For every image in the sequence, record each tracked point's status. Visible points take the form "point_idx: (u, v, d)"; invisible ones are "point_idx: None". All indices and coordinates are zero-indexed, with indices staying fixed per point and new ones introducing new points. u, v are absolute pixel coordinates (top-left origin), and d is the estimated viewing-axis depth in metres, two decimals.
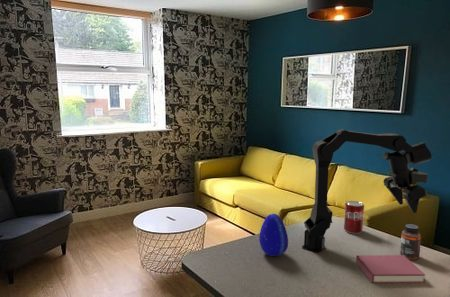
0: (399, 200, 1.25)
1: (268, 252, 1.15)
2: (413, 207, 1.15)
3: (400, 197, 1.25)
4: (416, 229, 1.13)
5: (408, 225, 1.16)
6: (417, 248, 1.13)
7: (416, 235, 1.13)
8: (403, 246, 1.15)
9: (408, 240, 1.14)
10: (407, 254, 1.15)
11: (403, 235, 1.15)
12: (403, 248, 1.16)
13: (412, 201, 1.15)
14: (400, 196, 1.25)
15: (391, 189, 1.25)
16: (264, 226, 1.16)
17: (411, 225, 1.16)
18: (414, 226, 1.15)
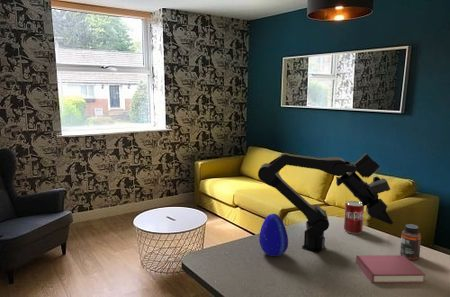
0: None
1: (268, 252, 1.15)
2: (386, 220, 1.11)
3: None
4: (416, 229, 1.13)
5: (408, 225, 1.16)
6: (417, 248, 1.13)
7: (416, 235, 1.13)
8: (403, 246, 1.15)
9: (408, 240, 1.14)
10: (407, 254, 1.15)
11: (403, 235, 1.15)
12: (403, 248, 1.16)
13: (381, 215, 1.11)
14: None
15: (367, 204, 1.22)
16: (264, 226, 1.16)
17: (411, 225, 1.16)
18: (414, 226, 1.15)
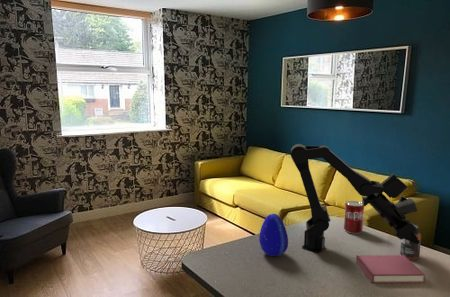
0: None
1: (268, 252, 1.15)
2: (412, 239, 1.12)
3: None
4: (416, 229, 1.13)
5: None
6: (417, 248, 1.13)
7: (416, 235, 1.13)
8: (403, 246, 1.15)
9: (408, 240, 1.14)
10: (407, 254, 1.15)
11: None
12: (403, 248, 1.16)
13: (407, 235, 1.12)
14: None
15: (394, 225, 1.20)
16: (264, 226, 1.16)
17: None
18: None
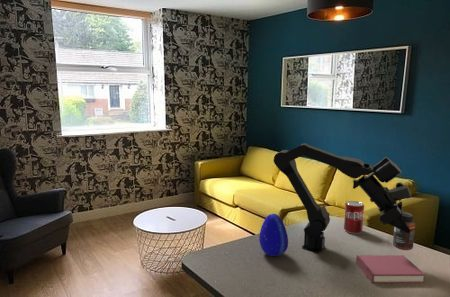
0: None
1: (268, 252, 1.15)
2: (402, 227, 1.05)
3: None
4: (409, 217, 1.06)
5: (402, 213, 1.09)
6: (408, 238, 1.06)
7: (407, 223, 1.06)
8: (394, 235, 1.09)
9: None
10: (397, 243, 1.08)
11: None
12: (394, 237, 1.09)
13: (396, 222, 1.05)
14: None
15: None
16: (264, 226, 1.16)
17: (405, 213, 1.08)
18: (408, 214, 1.07)
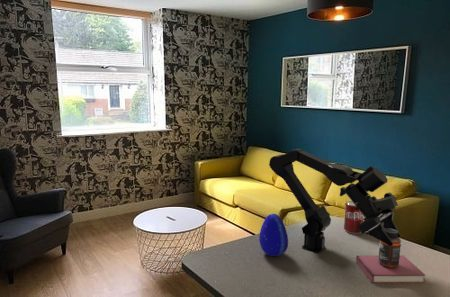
0: None
1: (268, 252, 1.15)
2: (383, 239, 1.02)
3: None
4: (392, 234, 1.03)
5: (388, 229, 1.06)
6: (391, 255, 1.03)
7: None
8: (379, 250, 1.06)
9: (382, 244, 1.04)
10: (381, 260, 1.05)
11: None
12: (379, 253, 1.07)
13: (377, 233, 1.02)
14: (393, 228, 1.08)
15: (380, 222, 1.11)
16: (264, 226, 1.16)
17: (391, 229, 1.05)
18: (393, 231, 1.04)
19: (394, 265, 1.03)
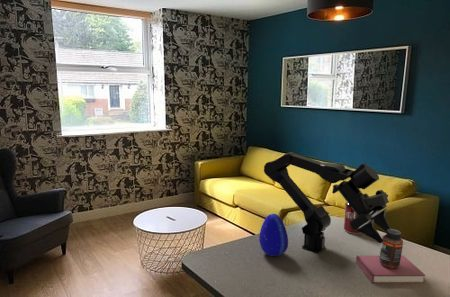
0: (385, 229, 1.10)
1: (268, 252, 1.15)
2: (374, 236, 1.03)
3: (385, 225, 1.10)
4: (396, 235, 1.02)
5: (391, 230, 1.05)
6: (393, 256, 1.02)
7: (393, 241, 1.02)
8: (380, 251, 1.06)
9: (385, 244, 1.04)
10: (382, 260, 1.05)
11: (382, 239, 1.05)
12: (380, 253, 1.06)
13: (368, 230, 1.03)
14: (385, 224, 1.10)
15: (372, 219, 1.13)
16: (264, 226, 1.16)
17: (394, 230, 1.04)
18: (396, 232, 1.03)
19: (395, 266, 1.03)
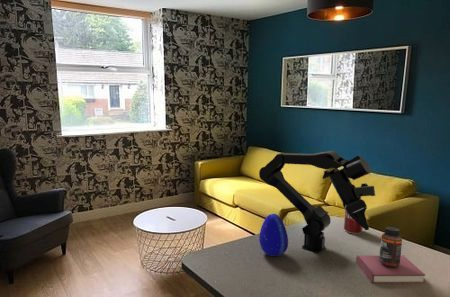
0: None
1: (268, 252, 1.15)
2: (362, 223, 1.06)
3: None
4: (395, 231, 1.04)
5: (389, 227, 1.06)
6: (395, 253, 1.03)
7: (394, 238, 1.03)
8: (381, 250, 1.06)
9: (385, 242, 1.04)
10: (384, 259, 1.04)
11: (382, 237, 1.06)
12: (380, 252, 1.06)
13: (358, 217, 1.06)
14: None
15: None
16: (264, 226, 1.16)
17: (392, 228, 1.06)
18: (395, 229, 1.05)
19: (397, 263, 1.03)
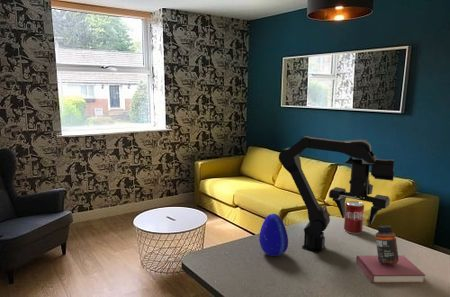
0: (343, 213, 1.17)
1: (268, 252, 1.15)
2: (373, 218, 1.11)
3: (344, 210, 1.18)
4: (390, 228, 1.06)
5: (380, 226, 1.08)
6: (395, 249, 1.04)
7: (391, 234, 1.05)
8: (381, 250, 1.05)
9: (385, 240, 1.04)
10: (387, 258, 1.04)
11: (378, 237, 1.06)
12: (381, 252, 1.05)
13: None
14: (344, 209, 1.18)
15: (340, 201, 1.16)
16: (264, 226, 1.16)
17: (383, 225, 1.08)
18: (386, 225, 1.07)
19: None
